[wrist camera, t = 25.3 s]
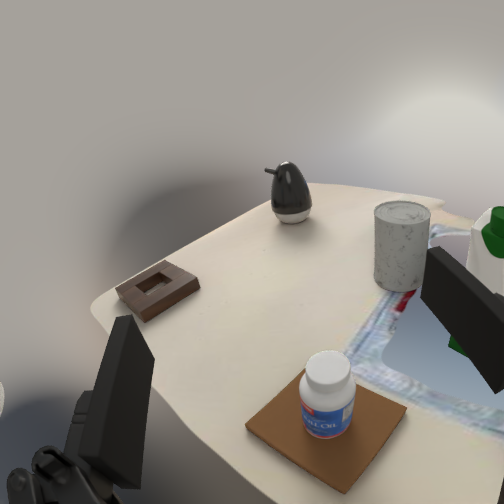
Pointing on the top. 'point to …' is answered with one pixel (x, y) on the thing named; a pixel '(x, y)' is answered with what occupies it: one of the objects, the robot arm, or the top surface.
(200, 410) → the top surface
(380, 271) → the concrete cylinder
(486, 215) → the milk carton
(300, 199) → the black egg-shaped figure
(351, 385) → the pill bottle
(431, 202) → the top surface
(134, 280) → the socket base
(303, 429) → the cork pad
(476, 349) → the robot arm
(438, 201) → the top surface
